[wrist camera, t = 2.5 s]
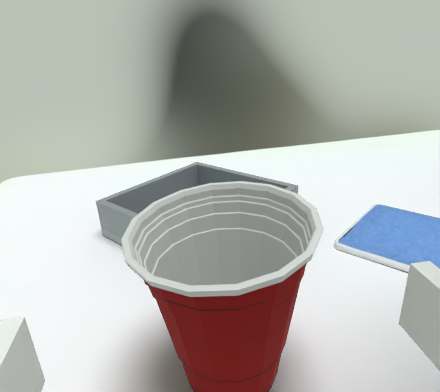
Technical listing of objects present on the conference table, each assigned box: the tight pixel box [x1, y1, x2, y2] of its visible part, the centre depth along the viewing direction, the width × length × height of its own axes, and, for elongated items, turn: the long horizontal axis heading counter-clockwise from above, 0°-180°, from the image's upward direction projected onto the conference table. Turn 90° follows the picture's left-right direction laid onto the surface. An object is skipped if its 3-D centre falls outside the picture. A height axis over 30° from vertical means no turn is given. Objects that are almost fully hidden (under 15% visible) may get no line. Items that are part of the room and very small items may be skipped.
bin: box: [96, 162, 298, 245], centre depth 43 cm, size 17×17×4 cm
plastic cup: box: [121, 181, 323, 392], centre depth 22 cm, size 11×11×12 cm
